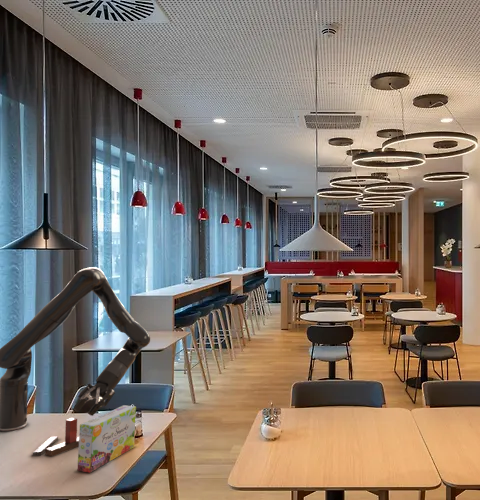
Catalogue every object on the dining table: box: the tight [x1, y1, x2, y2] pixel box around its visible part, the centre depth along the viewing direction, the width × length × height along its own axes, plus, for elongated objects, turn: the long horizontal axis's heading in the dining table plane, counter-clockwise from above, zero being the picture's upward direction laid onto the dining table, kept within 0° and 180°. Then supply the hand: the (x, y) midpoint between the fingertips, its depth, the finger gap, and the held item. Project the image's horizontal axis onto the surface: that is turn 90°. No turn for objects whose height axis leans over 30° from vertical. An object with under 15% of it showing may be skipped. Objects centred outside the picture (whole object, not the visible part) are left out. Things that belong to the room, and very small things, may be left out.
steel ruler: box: [32, 436, 59, 457], centre depth 166 cm, size 2×14×1 cm, turn 11°
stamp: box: [44, 417, 79, 457], centre depth 167 cm, size 4×16×10 cm, turn 156°
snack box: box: [77, 404, 137, 473], centre depth 158 cm, size 21×6×15 cm, turn 168°
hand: (82, 412), depth 170 cm, fingers open, 8 cm apart
